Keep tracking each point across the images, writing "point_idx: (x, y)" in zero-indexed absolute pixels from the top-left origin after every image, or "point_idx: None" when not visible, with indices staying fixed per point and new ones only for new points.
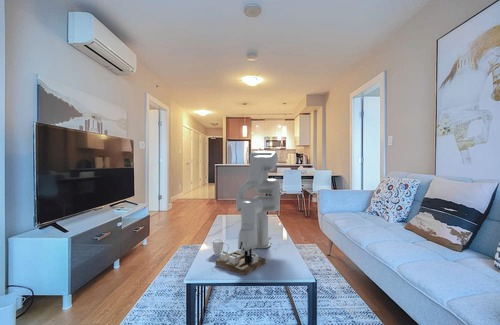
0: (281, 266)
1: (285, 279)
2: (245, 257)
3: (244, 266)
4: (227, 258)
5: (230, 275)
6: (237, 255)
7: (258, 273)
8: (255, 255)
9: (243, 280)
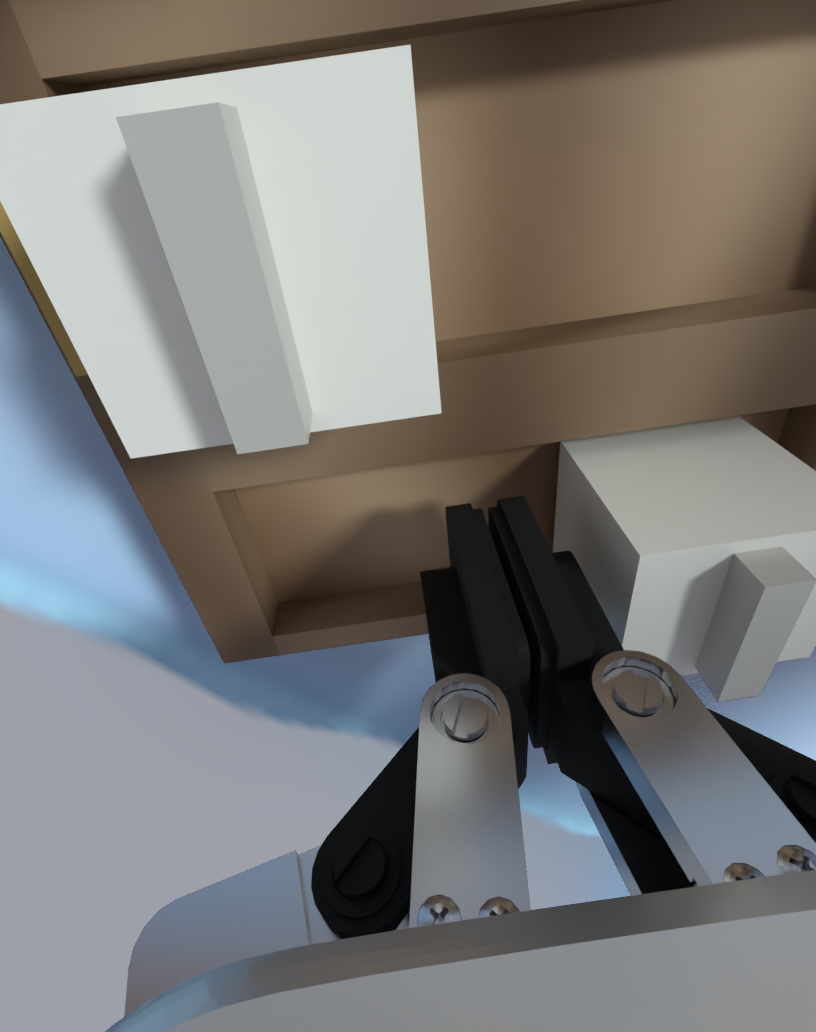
0: (807, 660)
1: (533, 799)
2: (432, 654)
3: (411, 473)
4: None
5: (37, 456)
6: (403, 319)
7: None
8: (716, 677)
9: (168, 657)
